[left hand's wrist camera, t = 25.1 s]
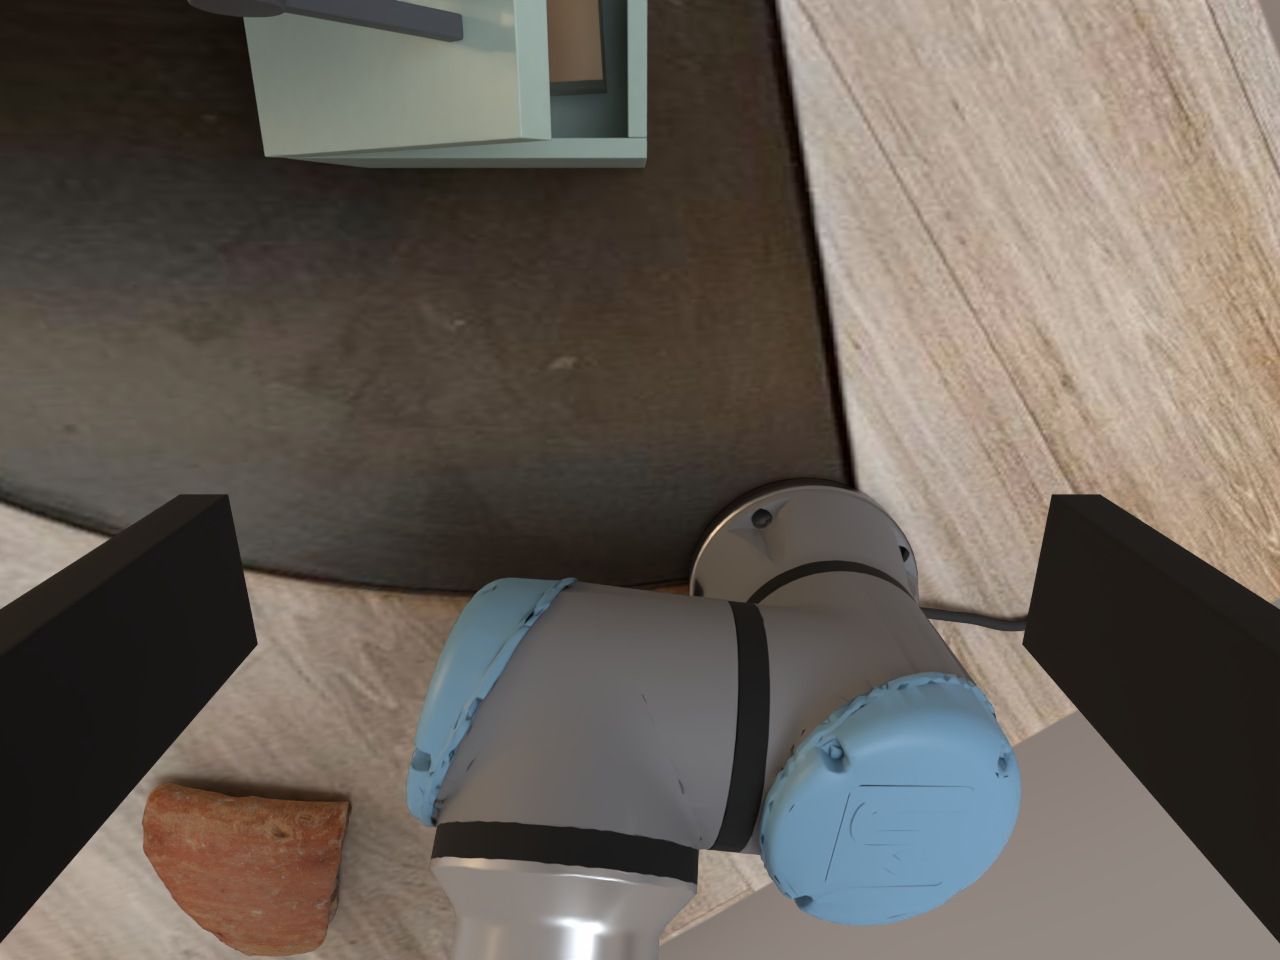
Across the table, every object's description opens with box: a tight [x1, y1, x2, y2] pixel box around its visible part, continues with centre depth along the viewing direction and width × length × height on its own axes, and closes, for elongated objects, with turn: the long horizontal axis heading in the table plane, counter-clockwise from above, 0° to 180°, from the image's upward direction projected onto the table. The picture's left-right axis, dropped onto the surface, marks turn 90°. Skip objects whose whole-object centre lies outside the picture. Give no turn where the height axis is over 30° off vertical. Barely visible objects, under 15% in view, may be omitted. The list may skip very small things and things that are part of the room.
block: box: [546, 0, 607, 96], centre depth 39 cm, size 5×5×5 cm
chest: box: [289, 0, 647, 168], centre depth 37 cm, size 16×12×11 cm
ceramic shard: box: [142, 783, 351, 957], centre depth 60 cm, size 15×6×15 cm
